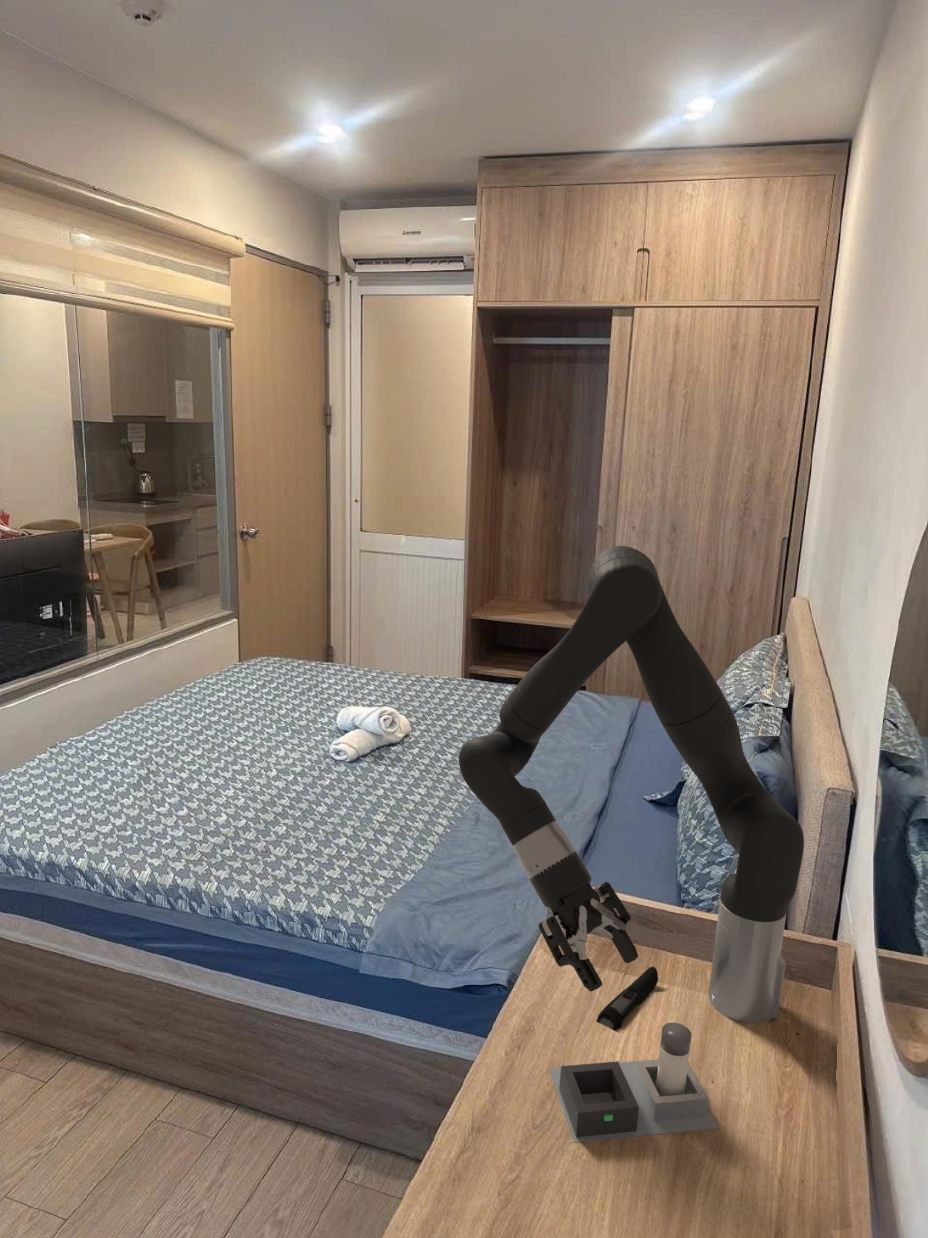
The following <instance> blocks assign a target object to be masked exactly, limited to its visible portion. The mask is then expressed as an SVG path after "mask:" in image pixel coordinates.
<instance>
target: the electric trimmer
mask: <svg viewBox="0 0 928 1238" xmlns="http://www.w3.org/2000/svg"><path fill="white" fill-rule="evenodd" d="M658 982H659V973H658V970H657V967H655V966H649V967H648V968H647V969H646V970H645V971H644V972H643V973H642V974H640V975H639V976H638V977H637V978H636V979H635V980H634V981H633V982H632V983H631V984H630V985H628V986H627V988H625V989H623V990H622V991H621V992H620V993H619V994H617V996H616V997H614V998H613V999H612V1000H611V1001H610V1002H609V1003H608V1004H607V1005H605V1007H604V1008H603V1009H602V1010H601V1011H600V1012H599V1013H598V1015H597V1019H596V1021H595V1022H596V1023H599V1024H601V1025H603V1026H605V1027H607V1028H609V1029H611V1030H612V1031H614V1032H617V1031H618V1030H620V1029H622V1027H623V1022H624V1021H625V1019H626V1018H627V1017H628V1016H629V1014H630V1013H632V1011H633V1010H634V1009H635V1008H636V1007H638V1006H640V1005H641V1004H643V1003H644V1002H645V1001H646V999H647V998H648V997H649V996H650V994H651V993H653V991H654V989H655V988H656V987H657V984H658Z"/></svg>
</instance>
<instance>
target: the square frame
mask: <svg viewBox="0 0 928 1238" xmlns="http://www.w3.org/2000/svg"><path fill="white" fill-rule="evenodd" d="M658 1062H659V1060H656V1061H644V1062H635V1071H634V1080H635V1082H636V1085H637V1087H638V1089H639V1091H640V1093H641V1095H642V1097H643V1099H644V1102H645V1104H646V1106H647V1108H648V1110H649V1112H650V1114H651V1117H652V1119H653V1121H656V1120H666V1119H676V1118H686V1117H696V1116H707V1109H709V1102H710V1101H709V1100H710V1099H709V1096H708V1095H707V1093H706V1091H705V1089H704V1087H703V1086H702V1084H701V1081H700V1080H699V1079H698V1077H697V1075H696V1073H695V1072H694V1070H693V1068H692V1066H691V1065H690V1062H688V1069H687V1077H686V1085H685V1091H686V1093H687V1094H684V1095H673V1096H662V1097H660V1096H659V1094H658V1092H657V1090H656V1088H655V1086H654V1084H653V1083H656V1080H657V1071H658Z"/></svg>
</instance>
